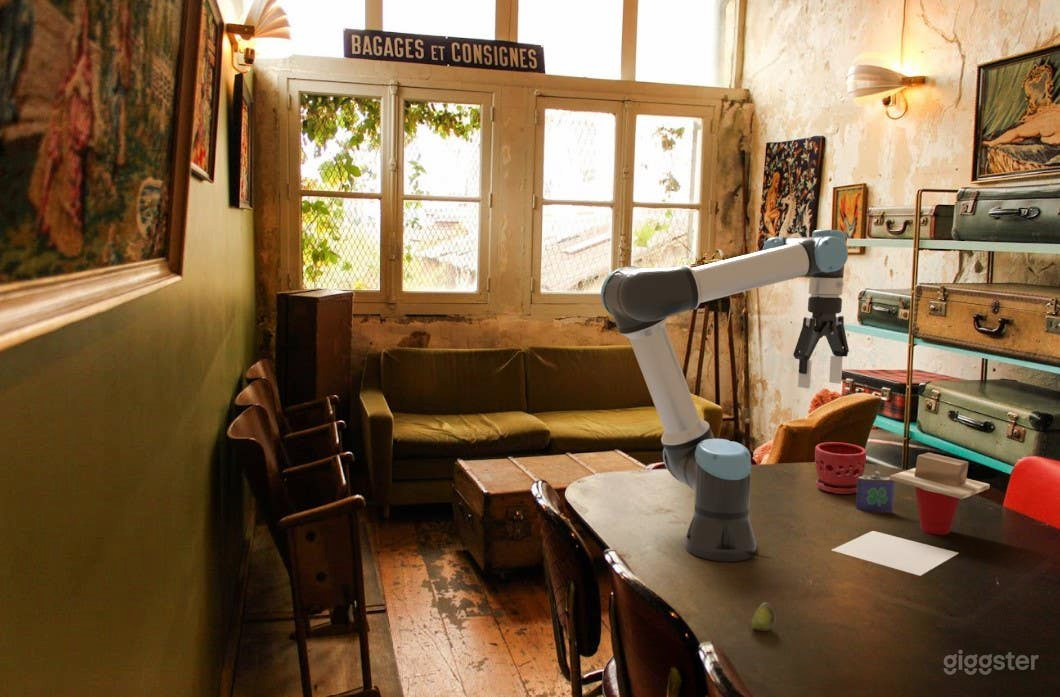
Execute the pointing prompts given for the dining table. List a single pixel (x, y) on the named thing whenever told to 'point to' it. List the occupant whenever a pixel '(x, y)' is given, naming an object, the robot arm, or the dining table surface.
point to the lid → (941, 476)
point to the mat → (896, 552)
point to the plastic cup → (936, 511)
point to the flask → (875, 494)
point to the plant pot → (839, 466)
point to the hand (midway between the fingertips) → (819, 385)
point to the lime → (764, 617)
